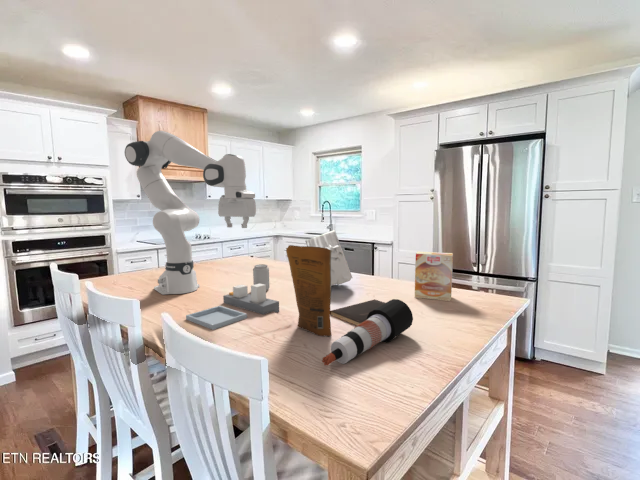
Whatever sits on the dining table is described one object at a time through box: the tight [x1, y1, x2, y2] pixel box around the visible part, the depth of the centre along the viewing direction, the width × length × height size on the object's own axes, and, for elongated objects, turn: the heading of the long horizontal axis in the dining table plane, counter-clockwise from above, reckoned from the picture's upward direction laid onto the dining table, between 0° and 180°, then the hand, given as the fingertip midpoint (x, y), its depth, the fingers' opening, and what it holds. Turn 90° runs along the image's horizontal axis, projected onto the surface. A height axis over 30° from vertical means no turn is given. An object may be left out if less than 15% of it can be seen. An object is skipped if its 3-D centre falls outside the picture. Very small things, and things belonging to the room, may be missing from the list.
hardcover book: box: [330, 299, 386, 326], centre depth 126 cm, size 16×23×2 cm
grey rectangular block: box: [250, 283, 267, 304], centre depth 131 cm, size 4×4×9 cm
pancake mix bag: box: [285, 244, 333, 337], centre depth 109 cm, size 7×19×28 cm, turn 43°
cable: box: [321, 298, 414, 367], centre depth 96 cm, size 10×34×10 cm, turn 136°
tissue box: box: [305, 229, 353, 287], centre depth 168 cm, size 21×17×26 cm
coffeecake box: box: [414, 251, 454, 302], centre depth 146 cm, size 15×7×20 cm, turn 68°
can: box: [252, 264, 270, 291], centre depth 162 cm, size 8×8×12 cm
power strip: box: [222, 284, 280, 316], centre depth 134 cm, size 24×8×8 cm, turn 52°
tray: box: [185, 305, 248, 331], centre depth 120 cm, size 16×14×2 cm
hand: (236, 227), depth 141 cm, fingers open, 8 cm apart
